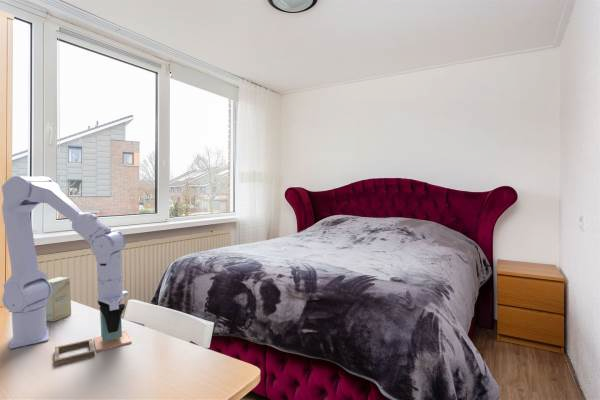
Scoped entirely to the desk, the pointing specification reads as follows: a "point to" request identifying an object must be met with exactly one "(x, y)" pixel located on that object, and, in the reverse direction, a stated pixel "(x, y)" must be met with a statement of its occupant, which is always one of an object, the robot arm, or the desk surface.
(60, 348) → the pocket frame
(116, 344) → the terracotta tile
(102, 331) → the teal block
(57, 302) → the skincare box
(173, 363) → the desk surface
